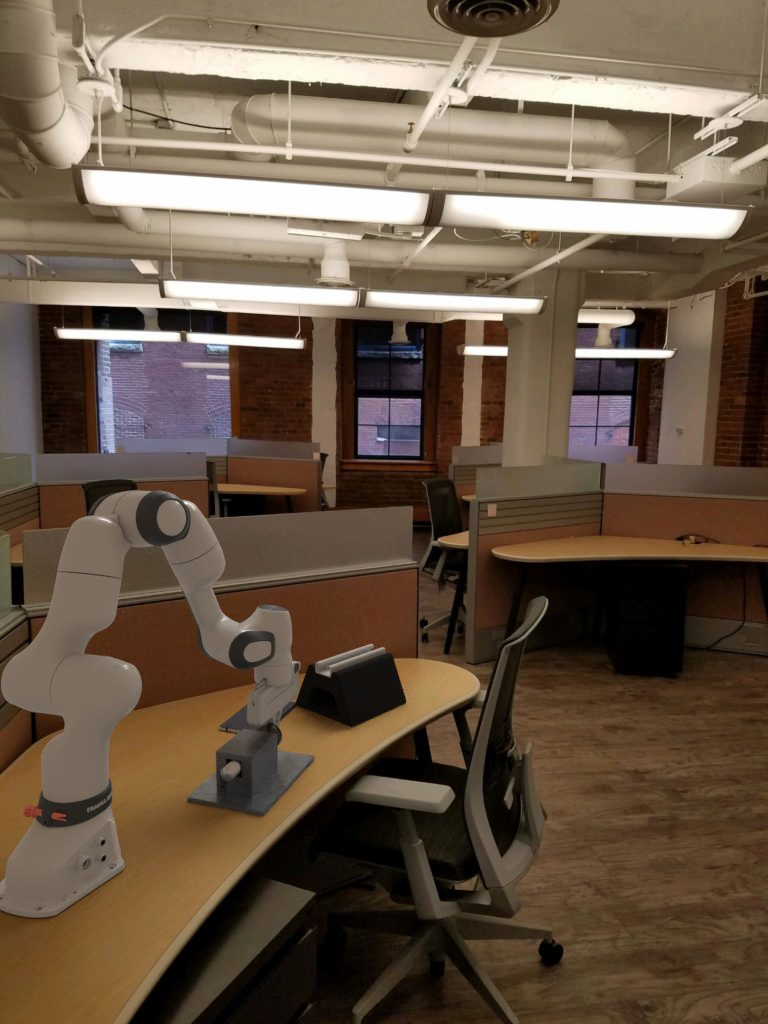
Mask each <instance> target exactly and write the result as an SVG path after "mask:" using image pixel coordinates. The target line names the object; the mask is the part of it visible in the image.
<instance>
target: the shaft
mask: <svg viewBox="0 0 768 1024" xmlns="http://www.w3.org/2000/svg"><path fill="white" fill-rule="evenodd" d="M257 731H261V732H268V733H274V734H277V747H278V746H279V745H280V744H281V743H282V741H283V734H282V731H281V728H280V726H279V727H278V726H276V725H275V724H273V723H265V724H263V725H262V726H261V727H260V728H259V729H258V730H257ZM241 771H242V761H238V760H232V761H231V762H230V763H228V764H227V765H226V766H225V767H224V768H223V769H222V770H221V777H222V779H223V780H225V781H231V780H232V779H233V778H234V777H235V776H236V775H238V774H239V773H240V772H241Z"/></svg>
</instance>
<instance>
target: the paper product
mask: <svg viewBox="0 0 768 1024" xmlns="http://www.w3.org/2000/svg"><path fill="white" fill-rule="evenodd" d="M247 705H248V703H247V704H246V705H244V706H243V707H241V708H240V709H239V710H237V712H235V713H234V714H233V715H232V716H230V717H229V718H228V719H226V720H225V721H224V722H223V723H221V724H220V725H219V728H220V730H221V731H223V730H225V732H227V731H228V732H230V731H231V733H237V734H238V733H239V732H240V731H241V730H243V729H249V730H255V731H257V730H258V729H259V728H260V727H261V726H256V725H250V724H249V723H248V722H247ZM296 707H297V705H296V701H295V702H294V701H290V702H289V703H288V704H287V705H286V706H284V707H283V708H282V714H281V718H280V721H282V720H283V719H284V718H285V717H286V716H287V715H288V714H289V713H290V712H292V711H293V710H294V709H295V708H296ZM265 723H267V722H265ZM265 723H264V724H265Z"/></svg>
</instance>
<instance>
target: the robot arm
mask: <svg viewBox="0 0 768 1024" xmlns="http://www.w3.org/2000/svg"><path fill="white" fill-rule="evenodd" d="M131 547H133V548H148V547H160V548H161V549H162V551H163V553H164V556H165V558H166V560H167V563H168V564H169V567H170V568H171V570H172V572H173V574H174V576H175V577H176V579H177V581H178V584H179V586H180V589H181V593H182V594H183V597H184V599H185V602H186V604H187V607H188V609H189V611H190V613H191V615H192V619H193V620H194V622H195V623H194V624H195V627H196V636H197V637H196V638H197V646H198V649H199V651H200V652H201V653H202V655H203V656H205V657H207V658H209V659H212V660H214V661H219V662H220V663H222V664H225V665H227V666H230V667H231V668H234V669H235V670H238V671H248V670H251V669H254V673H253V675H254V676H253V677H254V680H253V681H254V682H255V683H256V684H254V686H253V689H252V690H251V691H250V692H249V694H248V698H247V704H248V705H247V704H246V705H247V722H248V723H249V724H250V725H256V726H262V725H263V724H264V723H265V722H267V723H273V724H275V725H276V726H278V727H279V728H280V725H281V723H280V722H281V720H280V718H281V714H282V708H283V707H284V706H286V705H287V704H288V703H289V702H293V700H294V699H296V698H297V697H298V694H299V690H300V689H299V686H300V673H299V671H300V670H301V662H300V661H296V660H293V657H292V653H291V650H292V649H291V648H292V644H293V627H292V626H293V625H292V619H291V615H290V612H289V610H288V609H287V608H284V607H283V606H280V605H273V604H260V605H258V606H257V607H256V609H255V611H254V612H253V613H252V615H250V616H249V617H248V618H247V619H245V620H244V621H242V622H238V621H235V620H233V619H231V618H229V616H227V615H225V614H224V612H223V611H222V609H221V607H220V604H219V602H218V599H217V597H216V594H215V592H214V590H213V586H212V585H214V584H215V583H216V582H217V581H219V579H220V578H221V576H222V575H223V574H224V571H225V569H226V559H225V555H224V551H223V549H222V546H221V545H220V542H219V539H218V538H217V536H216V534H215V532H214V530H213V528H212V526H211V525H210V523H209V521H208V520H207V518H206V517H205V515H204V513H202V511H201V510H200V509H199V507H198V506H197V505H196V504H195V503H193V502H191V501H190V500H186V499H182V498H180V497H179V496H178V495H176V494H175V493H171V492H169V491H164V490H160V489H158V490H152V491H151V490H139V489H134V490H127V491H120V492H112V493H111V492H110V493H108V494H106V495H104V496H101V497H100V498H98V499H97V500H96V501H95V502H94V503H93V504H92V506H91V507H90V509H89V512H88V515H86V516H82V517H80V518H78V519H77V520H75V521H74V522H73V523H72V524H71V526H70V528H69V530H68V533H67V535H66V538H65V541H64V543H63V546H62V550H61V554H60V557H59V562H58V567H57V571H56V577H55V582H54V586H53V591H52V592H53V593H52V598H51V602H50V605H49V606H50V607H49V610H48V613H47V615H46V617H45V621H44V623H43V625H42V627H41V628H40V630H39V632H38V633H37V635H36V636H35V637H34V639H33V640H32V641H31V642H30V644H29V645H28V646H27V647H26V648H24V649H23V650H22V651H21V652H19V653H17V654H15V655H14V656H13V657H12V658H11V659H10V660H9V661H8V663H7V664H6V666H5V667H4V669H3V672H2V674H1V679H0V689H1V693H2V696H3V698H4V700H5V701H6V702H7V703H9V704H10V705H14V706H16V707H18V708H20V709H23V710H26V711H29V712H31V713H39V714H40V713H41V714H46V715H47V714H48V715H55V716H60V717H62V718H63V721H64V728H63V732H61V733H59V734H57V735H55V736H53V737H52V738H51V739H50V740H49V741H48V742H47V744H45V747H44V748H43V749H42V753H41V755H40V765H41V766H40V769H41V770H40V771H41V785H42V787H41V789H42V790H41V791H40V795H39V798H38V802H37V805H34V804H31V803H29V804H27V805H26V806H24V809H23V812H22V813H23V816H24V817H26V818H31V819H34V821H33V822H32V823H31V825H30V827H29V828H28V829H27V831H26V832H25V833H24V835H23V836H22V838H21V840H20V841H19V842H18V844H17V846H16V847H15V848H14V850H13V851H12V853H11V854H10V856H9V857H8V859H7V862H6V867H5V876H4V878H3V879H2V880H1V881H0V911H3V912H5V913H8V914H11V915H15V916H17V917H18V916H19V917H24V918H36V919H37V918H49V917H54V916H56V915H58V914H60V913H61V912H63V911H65V910H66V909H67V908H68V907H70V906H72V905H73V904H75V903H76V902H78V901H79V900H81V899H82V898H83V897H85V896H86V895H88V894H89V893H91V892H93V891H94V890H95V889H97V888H98V887H99V886H101V885H103V884H104V883H106V882H107V881H109V880H110V879H112V878H113V877H115V876H116V875H117V874H119V873H120V872H122V871H123V870H124V869H125V867H126V865H125V861H124V859H123V856H122V848H121V845H120V842H119V838H118V832H117V831H118V830H117V826H116V820H115V816H114V814H113V811H112V805H111V804H112V802H113V792H114V791H113V787H112V780H111V778H110V776H109V775H110V772H109V771H110V770H109V769H110V768H109V764H110V763H109V759H110V758H109V757H110V755H109V753H110V752H109V751H110V742H111V741H110V740H111V738H112V734H113V732H114V730H115V727H116V726H118V723H120V721H121V720H123V719H124V718H125V717H127V716H128V715H130V713H131V712H133V710H134V709H135V708H136V706H137V705H138V703H139V702H140V701H139V700H140V698H141V694H142V690H143V686H142V685H143V682H142V676H141V674H140V672H139V670H138V668H137V667H136V666H135V664H132V663H130V662H127V661H124V660H121V659H119V658H115V657H112V656H107V655H100V654H99V655H98V654H88V653H85V652H86V651H85V650H86V648H87V645H88V643H89V642H90V641H91V639H92V637H93V636H94V635H95V634H97V633H99V632H102V631H104V630H105V629H107V628H109V626H111V625H112V624H113V622H114V621H115V618H116V617H117V610H118V606H119V605H118V604H119V599H120V592H121V585H122V579H123V571H124V561H125V557H126V556H127V553H128V552H129V550H130V548H131Z"/></svg>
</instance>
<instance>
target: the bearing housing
mask: <svg viewBox="0 0 768 1024" xmlns="http://www.w3.org/2000/svg"><path fill="white" fill-rule="evenodd" d="M232 760H238V761H242V771H241V772H240V773H239V774H238V775H236V776H235V777H234V778H233V779H232V780H231V781H225V780H223V779H222V777H221V770H222V769H223V768H224V767H225V766H226V765H227V764H228V763H230V762H231V761H232ZM313 760H314V761H315V755H311V754H304V753H298V752H293V751H288V750H287V751H286V750H281V749H279V748H278V746H277V734H274V733H268V732H261V731H255V730H249V729H243V730H241V731H240V732H239V733H237V734H235V735H234V736H232V738H230V739H229V740H228V741H226V742H225V743H224V744H223V745H222V746H220V747H219V748H218V749H217V750H215V772H214V773H213V774H211V775H210V777H208V778H207V779H206V780H205V781H203V783H201V784H200V785H199V786H198V787H196V789H195V790H193V792H191V793H190V794H188V796H186V797H187V798H186V800H187V801H186V802H189V803H194V804H198V805H202V806H203V805H204V806H208V807H213V808H219V809H224V810H229V811H235V812H240V813H244V814H250V815H254V814H255V816H259V815H260V816H259V817H264V816H265V815H266V814H267V813H268V812H269V811H270V810H271V809H272V808H273V807H274V805H275V804H276V803H277V802H278V801H279V800H280V799H281V798H282V797H283V796H284V794H286V792H287V791H288V790H289V789H290V788H291V786H292V785H293V784H294V783H295V782H296V781H297V780H298V779H299V777H300V776H301V775H303V773H304V772H305V771H306V770H305V769H306V768H307V769H308V767H309V766H310V765H311V764H312V763H313V762H314V761H313ZM312 761H313V762H312ZM311 762H312V763H311ZM304 770H305V771H304ZM297 778H298V779H297ZM296 779H297V780H296ZM288 788H289V789H288ZM280 797H281V798H280ZM279 798H280V799H279ZM271 807H272V808H271ZM270 808H271V809H270Z"/></svg>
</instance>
